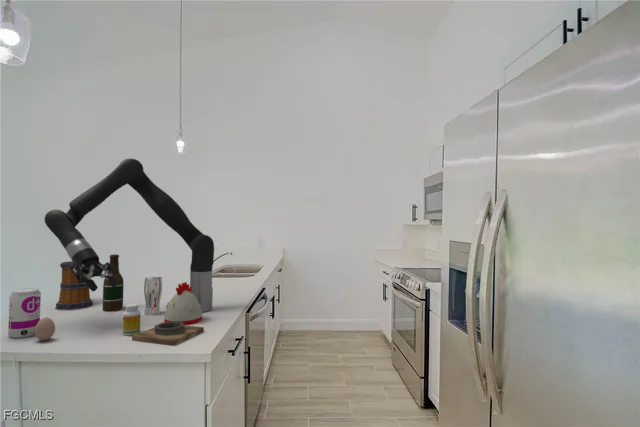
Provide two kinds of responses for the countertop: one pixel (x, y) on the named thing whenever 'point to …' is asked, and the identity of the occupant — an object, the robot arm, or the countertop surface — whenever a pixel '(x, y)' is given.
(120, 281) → the beer bottle
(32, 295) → the supplement can
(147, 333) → the socket board
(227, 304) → the countertop surface
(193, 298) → the kitchen timer
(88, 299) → the mug
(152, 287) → the beer glass
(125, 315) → the supplement bottle
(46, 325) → the egg
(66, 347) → the countertop surface
